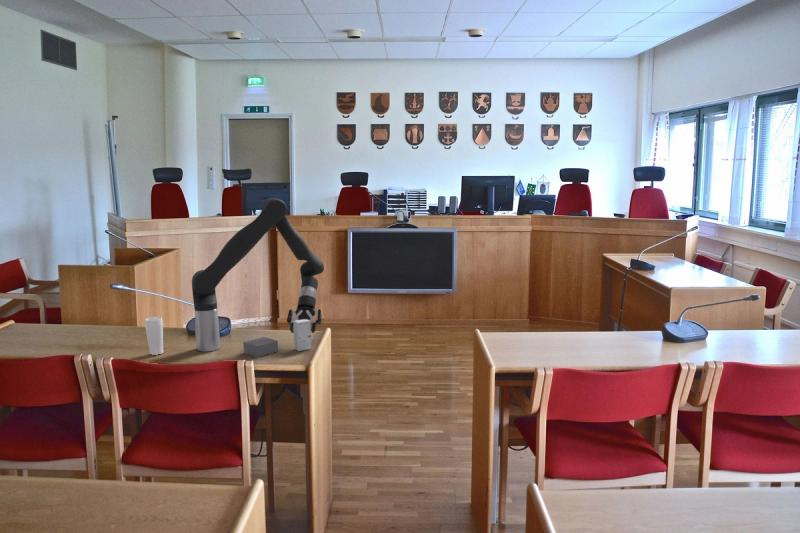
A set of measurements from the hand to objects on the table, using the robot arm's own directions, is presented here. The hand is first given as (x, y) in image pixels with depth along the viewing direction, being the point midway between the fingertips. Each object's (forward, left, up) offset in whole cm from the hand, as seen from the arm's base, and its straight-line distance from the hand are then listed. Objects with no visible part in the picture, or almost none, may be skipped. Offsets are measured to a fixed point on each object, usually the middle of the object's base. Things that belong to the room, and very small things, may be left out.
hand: (302, 332), depth 270 cm
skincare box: (0, 0, -7) cm, 7 cm away
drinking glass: (-46, -39, -7) cm, 61 cm away
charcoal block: (-11, -13, -7) cm, 19 cm away
